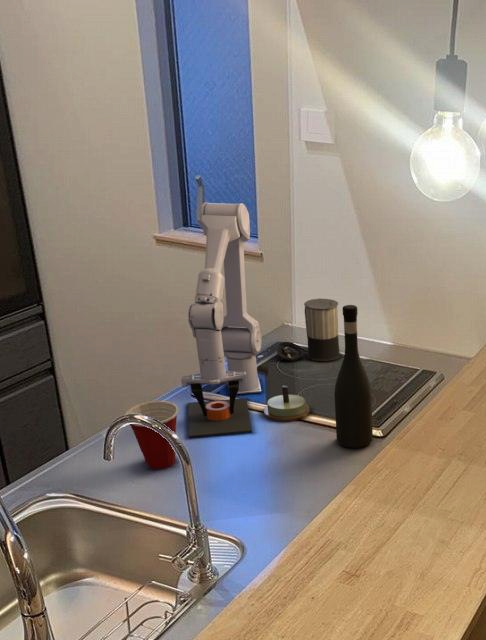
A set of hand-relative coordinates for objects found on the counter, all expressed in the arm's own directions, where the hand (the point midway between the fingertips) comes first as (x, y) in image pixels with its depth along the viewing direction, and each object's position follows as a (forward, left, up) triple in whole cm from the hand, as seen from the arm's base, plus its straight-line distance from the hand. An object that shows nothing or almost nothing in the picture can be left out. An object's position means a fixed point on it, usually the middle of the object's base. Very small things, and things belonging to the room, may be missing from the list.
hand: (218, 413), depth 200 cm
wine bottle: (+20, +29, -2) cm, 35 cm away
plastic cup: (+22, -13, -2) cm, 26 cm away
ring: (0, 0, -1) cm, 1 cm away
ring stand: (0, +16, -1) cm, 16 cm away
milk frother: (-38, +26, -2) cm, 46 cm away
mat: (0, 0, -1) cm, 1 cm away
